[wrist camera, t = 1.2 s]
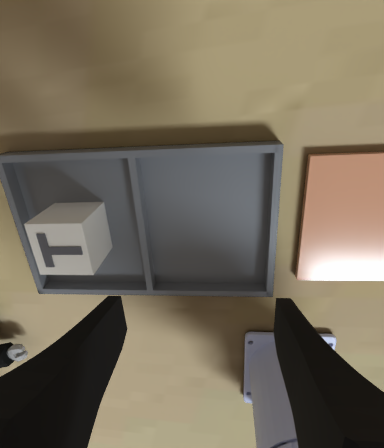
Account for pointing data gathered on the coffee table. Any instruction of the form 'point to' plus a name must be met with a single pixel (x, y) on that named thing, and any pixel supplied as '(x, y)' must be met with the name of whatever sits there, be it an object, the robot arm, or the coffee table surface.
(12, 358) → the robot toy
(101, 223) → the letter cube
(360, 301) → the coffee table surface
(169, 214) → the sorting tray
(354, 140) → the coffee table surface
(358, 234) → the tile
